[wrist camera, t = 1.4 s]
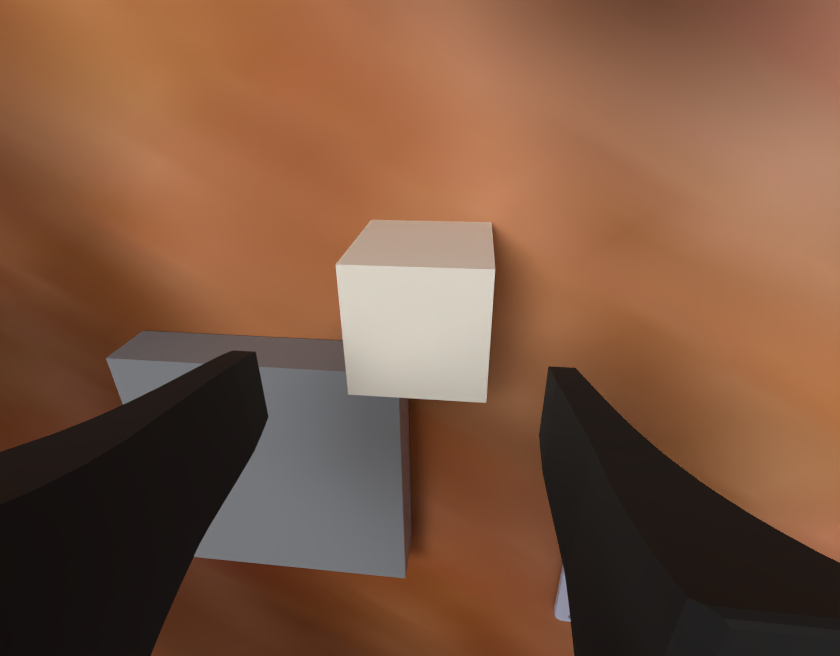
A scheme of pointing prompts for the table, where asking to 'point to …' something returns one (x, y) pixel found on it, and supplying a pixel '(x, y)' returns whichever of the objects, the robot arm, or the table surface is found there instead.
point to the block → (418, 309)
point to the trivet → (298, 456)
